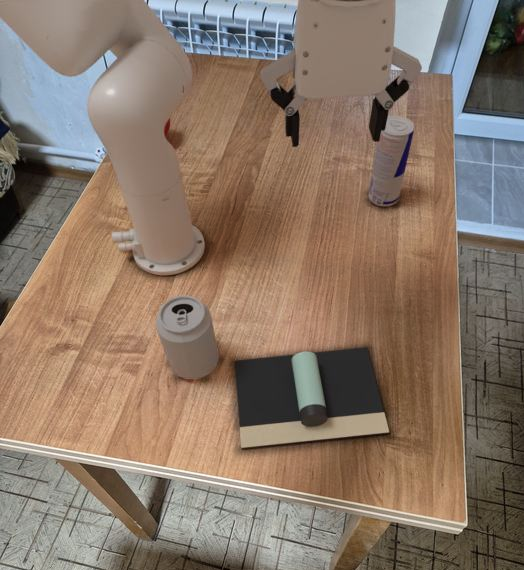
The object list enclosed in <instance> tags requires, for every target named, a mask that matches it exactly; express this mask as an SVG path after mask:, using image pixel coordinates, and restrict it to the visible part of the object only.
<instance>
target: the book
mask: <svg viewBox="0 0 524 570" xmlns="http://www.w3.org/2000/svg"><path fill="white" fill-rule="evenodd" d="M313 353H314V354H315V355H316V357H317V363H318V368H319V374H320V379H321V384H322V390H323V395H324V400H325V406H326V411H327V417H328V420H327V421H326V422H325V423H324V424H322V425H319V426H313V427H309V426H304V425H303V424H302V423H301V419H300V412H299V406H298V399H297V393H296V386H295V379H294V373H293V366H292V357H293V356H294V355H296V354H297V353H296V354H295V353H294V354H287V355H285V354H284V355H277V356H267V357H258V358H257V357H256V358H247V359H238V360H236V359H235V360H234V372H235V382H236V383H235V384H236V396H237V408H238V409H237V411H238V423H239V436H240V437H239V438H240V439H239V440H240V448H241V450H250V449H260V448H269V447H278V446H279V447H281V446H287V445H298V444H307V443H316V442H327V441H336V440H345V439H355V438H365V437H375V436H382V435H384V436H385V435H389V434H390V429H389V426H388V421H387V417H386V414H385V412H384V407H383V402H382V399H381V395H380V391H379V387H378V384H377V383H378V382H377V379H376V375H375V370H374V368H373V364H372V360H371V356H370V351H369V348H368V346H365V347H356V348H344V349H336V350H326V351H317V352H313Z"/></svg>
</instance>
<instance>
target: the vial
mask: <svg viewBox="0 0 524 570" xmlns="http://www.w3.org/2000/svg"><path fill="white" fill-rule="evenodd" d="M314 353H315V352H312V351H300V352H297V353H296V355H295V354H293V355H294V356H293V357H292V366H293V373H294V379H295V386H296V393H297V399H298V406H299V412H300V419H301V423H302V424H303V425H304V426H309V427H313V426H319V425H322V424H324V423H325V422H326V421H327V420H328V417H327V411H326V406H325V400H324V395H323V390H322V384H321V379H320V374H319V368H318V363H317V357H316V355H315V354H314Z"/></svg>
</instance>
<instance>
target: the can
mask: <svg viewBox="0 0 524 570" xmlns="http://www.w3.org/2000/svg"><path fill="white" fill-rule="evenodd" d="M155 329H156V332H157V335H158V336H159V340H160V343H161V346H162V348H163V351H164V354H165V356H166V357H165V358H166V359H167V362H168V364H169V367H170V369H171V371H172V372H173V373H174V374H175V375H177V376H178V377H180V378H182V379H184V380H197V379H202V378H205V377H206V376H208V375H209V374H210V373H212V372H213V371H214V370H215V369H216V367H217V365H218V363H219V359H220V353H219V348H218V344H217V343H218V342H217V339H216V333H215V329H214V325H213V319H212V314H211V311H210V309H209V307H208V306H207V305H206V304H205V303H203V302H202V301H201V300H200V299H199V298H197V297H195V296H193V295H188V294H181V295H175V296H173V297H170V298H168V299H167V300H166V301H165V302H163V303H162V304H161V306H160V307H159V309H158V313H157V315H156V319H155Z"/></svg>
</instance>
